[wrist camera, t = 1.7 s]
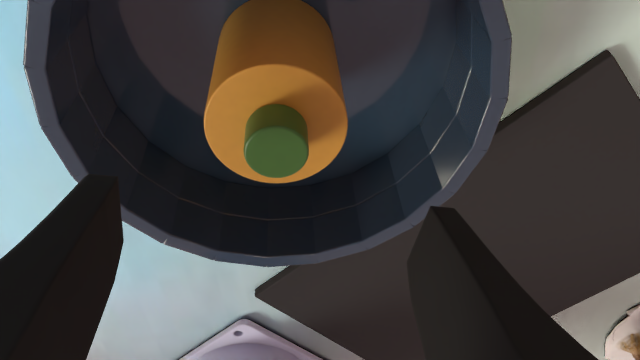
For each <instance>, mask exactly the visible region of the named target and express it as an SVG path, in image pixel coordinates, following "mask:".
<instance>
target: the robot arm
mask: <svg viewBox="0 0 640 360" xmlns="http://www.w3.org/2000/svg"><path fill="white" fill-rule="evenodd" d="M122 246H123V229H122V217H121V206H120V194H119V182H118V176H107V175H97V174H88V175H87V176H85V177H84V178H83V179H82V180H81V181H80V182H79V183H78V184H77V185H76V186H75V188H74V189H73V190H72V191H71V192H70V193H69V194H68V195H67V196H66V197H65V198H64V199H63V200H62V201H61V202H60V203H59V204H58V205H57V207H56V208H55V209H54V210H53V211H52V212H51V213H50V214H49V215H48V216H47V217H46V218H45V219H44V220H43V221H42V222H40V223H39V224H38V225H37V226H36V227H35V228H34V229H33V230H32V231H31V232H30V233H29V234H28V235H27V236H26V237H25V238H24V239H23V240H22V241H21V242H20V243H18V244H17V245H16V246H15V247H14V248H13V249H12V250H11V251H9V252H8V253H7V254H6V255H5V256H4V257H2V258H1V259H0V360H86V358H87V355H88V353H89V350H90V347H91V344H92V342H93V339H94V336H95V333H96V331H97V328H98V325H99V323H100V320H101V317H102V314H103V312H104V309H105V306H106V303H107V301H108V298H109V295H110V292H111V289H112V287H113V284H114V281H115V276H116V272H117V268H118V264H119V259H120V255H121V250H122ZM407 272H408V281H409V289H410V297H411V303H412V307H413V311H414V315H415V319H416V323H417V327H418V331H419V335H420V339H421V343H422V347H423V350H424V354H425V358H426V360H598V359H597V358H596V357H594V356H593V355H592V354H591V353H590V352H589V351H587V350H586V349H585V348H584V347H583V346H582V345H580V344H579V343H578V342H577V341H576V340H575V339H574V338H573V337H572V336H571V335H569V334H568V333H567V332H566V331H565V330H564V329H563V328H562V327H561V326H560V325H558V324H557V323H556V322H555V321H554V320H553V319H552V318H551V317H550V316H549V315H548V314H547V313H546V312H545V311H544V310H543V309H542V308H541V307H540V306H539V305H538V304H537V303H536V302H535V301H534V300H533V298H532V297H531V296H530V295H529V294H528V293H527V292H526V291H525V290H524V289H523V288H522V287H521V286H520V285H519V284H518V282H517V281H516V280H515V279H514V278H513V277H512V276H511V275H510V273H509V272H508V271H507V270H506V269H505V268H504V267H503V265H502V264H501V263H500V262H499V261H498V260H497V258H496V257H495V256H494V255H493V254H492V253H491V251H490V250H489V249H488V248H487V247H486V245H485V244H484V243H483V242H482V240H481V239H480V238H479V237H478V236H477V234H476V233H475V232H474V231H473V230H472V228H471V227H470V226H469V225H468V223H467V222H466V221H465V220H464V219H463V217H462V216H461V215H460V214H459V213H458V212H457V211H456V209H455V208H449V207H438V206H430V208H429V210H428V213H427V215H426V217H425V220H424V222H423V224H422V227H421V229H420V232H419V234H418V236H417V239H416V241H415V243H414V246H413V248H412V251H411V253H410V255H409V258H408V260H407ZM179 360H323V359H321V358H319V357H317V356H315V355H313V354H312V353H310V352H308V351H306V350H304V349H302V348H300V347H299V346H297V345H295V344H293V343H291V342H289V341H287V340H286V339H284V338H282V337H280V336H278V335H276V334H274V333H273V332H271V331H269V330H267V329H265V328H263V327H261V326H259V325H258V324H256V323H254V322H252V321H250V320H248V319H241V320H239V321H237V322H235V323H234V324H232V325H231V326H229V327H228V328H226V329H225V330H223V331H222V332H220V333H219V334H217V335H216V336H214V337H213V338H211V339H210V340H208V341H207V342H205V343H203V344H202V345H200V346H199V347H197V348H196V349H194V350H193V351H191V352H190V353H188V354H187V355H185V356H184V357H182V358H181V359H179Z"/></svg>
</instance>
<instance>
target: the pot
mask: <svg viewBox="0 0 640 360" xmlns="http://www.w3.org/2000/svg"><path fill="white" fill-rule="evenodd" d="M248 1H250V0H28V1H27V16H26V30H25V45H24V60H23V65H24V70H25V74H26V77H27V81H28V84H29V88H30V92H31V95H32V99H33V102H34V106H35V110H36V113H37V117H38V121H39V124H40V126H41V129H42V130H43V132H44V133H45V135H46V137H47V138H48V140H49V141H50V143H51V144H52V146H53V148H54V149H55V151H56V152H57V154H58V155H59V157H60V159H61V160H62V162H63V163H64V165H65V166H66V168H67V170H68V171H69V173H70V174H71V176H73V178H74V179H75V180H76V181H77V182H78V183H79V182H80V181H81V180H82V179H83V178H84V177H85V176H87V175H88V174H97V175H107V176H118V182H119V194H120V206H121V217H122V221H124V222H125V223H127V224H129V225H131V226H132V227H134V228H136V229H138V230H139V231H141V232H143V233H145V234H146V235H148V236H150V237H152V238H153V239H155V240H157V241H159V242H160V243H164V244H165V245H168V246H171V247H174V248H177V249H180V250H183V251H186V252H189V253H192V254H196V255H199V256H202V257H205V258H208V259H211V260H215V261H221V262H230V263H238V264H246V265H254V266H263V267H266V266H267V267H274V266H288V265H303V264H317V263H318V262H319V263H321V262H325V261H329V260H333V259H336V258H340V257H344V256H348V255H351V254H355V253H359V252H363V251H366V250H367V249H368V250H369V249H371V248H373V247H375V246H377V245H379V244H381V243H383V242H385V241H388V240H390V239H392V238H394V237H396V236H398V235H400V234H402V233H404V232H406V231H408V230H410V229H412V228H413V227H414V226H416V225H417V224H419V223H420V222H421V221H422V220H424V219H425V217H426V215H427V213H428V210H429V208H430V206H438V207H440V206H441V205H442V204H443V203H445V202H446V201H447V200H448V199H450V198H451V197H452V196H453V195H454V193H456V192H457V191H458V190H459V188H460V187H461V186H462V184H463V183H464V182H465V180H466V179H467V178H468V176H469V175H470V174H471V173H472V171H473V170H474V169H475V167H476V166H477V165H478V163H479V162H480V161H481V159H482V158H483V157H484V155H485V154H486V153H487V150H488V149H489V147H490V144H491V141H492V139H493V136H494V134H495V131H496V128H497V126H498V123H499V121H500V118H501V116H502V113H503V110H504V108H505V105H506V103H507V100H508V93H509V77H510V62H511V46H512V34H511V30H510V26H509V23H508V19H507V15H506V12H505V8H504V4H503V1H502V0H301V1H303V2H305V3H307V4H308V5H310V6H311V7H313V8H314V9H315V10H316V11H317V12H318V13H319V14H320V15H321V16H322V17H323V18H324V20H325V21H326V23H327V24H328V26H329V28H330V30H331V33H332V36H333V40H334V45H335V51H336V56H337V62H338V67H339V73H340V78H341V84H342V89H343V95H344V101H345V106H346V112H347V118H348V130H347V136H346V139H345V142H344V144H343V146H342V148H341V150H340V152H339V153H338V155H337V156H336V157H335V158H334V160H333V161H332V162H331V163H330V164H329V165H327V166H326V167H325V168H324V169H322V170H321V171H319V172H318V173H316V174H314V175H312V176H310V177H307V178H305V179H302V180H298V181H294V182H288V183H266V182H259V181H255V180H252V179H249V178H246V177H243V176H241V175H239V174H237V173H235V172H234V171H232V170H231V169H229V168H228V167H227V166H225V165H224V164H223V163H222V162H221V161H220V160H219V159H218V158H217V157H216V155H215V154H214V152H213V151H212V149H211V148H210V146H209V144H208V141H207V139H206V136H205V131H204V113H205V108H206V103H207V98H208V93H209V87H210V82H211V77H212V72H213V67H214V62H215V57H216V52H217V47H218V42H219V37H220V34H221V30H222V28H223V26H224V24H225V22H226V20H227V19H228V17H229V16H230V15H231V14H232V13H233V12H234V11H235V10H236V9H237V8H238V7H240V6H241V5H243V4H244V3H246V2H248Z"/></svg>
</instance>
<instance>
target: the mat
mask: <svg viewBox="0 0 640 360" xmlns="http://www.w3.org/2000/svg"><path fill="white" fill-rule="evenodd" d="M440 207H449V208H455V209H456V211H457V212H458V213H459V214H460V215H461V216H462V217H463V219H464V220H465V221H466V222H467V223H468V225H469V226H470V227H471V228H472V230H473V231H474V232H475V233H476V234H477V236H478V237H479V238H480V239H481V240H482V242H483V243H484V244H485V245H486V247H487V248H488V249H489V250H490V251H491V253H492V254H493V255H494V256H495V257H496V258H497V260H498V261H499V262H500V263H501V264H502V265H503V267H504V268H505V269H506V270H507V271H508V272H509V273H510V275H511V276H512V277H513V278H514V279H515V280H516V281H517V282H518V284H519V285H520V286H521V287H522V288H523V289H524V290H525V291H526V292H527V293H528V294H529V295H530V296H531V297H532V298H533V300H534V301H535V302H536V303H537V304H538V305H539V306H540V307H541V308H542V309H543V310H544V311H545V312H546V313H547V314H548V315H549V316H552V315H554V314H557V313H559V312H561V311H563V310H565V309H567V308H569V307H571V306H573V305H575V304H577V303H579V302H581V301H583V300H585V299H587V298H589V297H591V296H593V295H595V294H597V293H599V292H602V291H604V290H606V289H608V288H610V287H612V286H614V285H616V284H618V283H620V282H622V281H624V280H626V279H628V278H630V277H632V276H634V275H636V274H638V273H640V99H639V98H638V96H637V94H636V93H635V91H634V89H633V88H632V86H631V84H630V83H629V81H628V80H627V78H626V76H625V75H624V73H623V71H622V70H621V68H620V66H619V65H618V63H617V62H616V60H615V58H614V57H613V55H612V54H611V53H610V52H609V51H607V50H606V51H604V52H603V53H601V54H600V55H598V56H597V57H595V58H594V59H592V60H591V61H589V62H588V63H587V64H585V65H584V66H582V67H581V68H579V69H578V70H576V71H575V72H573V73H572V74H570V75H569V76H567V77H566V78H565V79H563V80H562V81H560V82H559V83H557V84H556V85H554V86H553V87H551V88H550V89H548V90H547V91H546V92H544V93H543V94H541V95H540V96H538V97H537V98H535V99H534V100H532V101H531V102H529V103H528V104H526V105H525V106H524V107H522V108H521V109H519V110H518V111H516V112H515V113H513V114H512V115H510V116H509V117H507V118H506V119H504V120H503V121H502V122H500V123H499V124H498V126H497V128H496V131H495V134H494V136H493V139H492V141H491V144H490V147H489V149H488V150H487V153H486V154H485V155H484V157H483V158H482V159H481V161H480V162H479V163H478V165H477V166H476V167H475V169H474V170H473V171H472V173H471V174H470V175H469V176H468V178H467V179H466V180H465V182H464V183H463V184H462V186H461V187H460V188H459V190H458V191H457V192H456V193H454V195H453V196H452V197H451V198H450V199H448V200H447V201H446V202H445V203H443V204H442V205H441V206H440ZM424 220H425V219H424ZM424 220H422V221H421V222H420V223H419V224H417V225H416V226H414V227H413V228H412V229H410V230H408V231H406V232H404V233H402V234H400V235H398V236H396V237H394V238H392V239H390V240H388V241H385V242H383V243H381V244H379V245H377V246H375V247H373V248H371V249H369V250H368V249H367V250H366V251H363V252H359V253H355V254H351V255H348V256H344V257H340V258H336V259H333V260H329V261H325V262H321V263H319V262H318V263H317V264H303V265H290V266H289V267H288V268H286V269H285V270H283V271H282V272H280V273H279V274H277V275H276V276H274V277H273V278H271V279H270V280H268V281H267V282H266V283H264V284H263V285H261V286H260V287H258V288H257V289H256V290H255V297H257V298H259V299H260V300H262V301H264V302H266V303H267V304H269V305H271V306H273V307H274V308H276V309H278V310H280V311H281V312H283V313H285V314H287V315H288V316H290V317H292V318H293V319H295V320H297V321H299V322H300V323H302V324H304V325H306V326H307V327H309V328H311V329H313V330H314V331H316V332H318V333H320V334H321V335H323V336H325V337H327V338H328V339H330V340H332V341H334V342H335V343H337V344H339V345H341V346H342V347H344V348H346V349H348V350H349V351H351V352H353V353H355V354H356V355H358V356H360V357H362V358H363V359H365V360H426V358H425V354H424V350H423V347H422V343H421V339H420V335H419V331H418V327H417V323H416V319H415V315H414V311H413V307H412V303H411V297H410V289H409V281H408V272H407V260H408V258H409V255H410V253H411V251H412V248H413V246H414V243H415V241H416V239H417V236H418V234H419V232H420V229H421V227H422V224H423V222H424Z"/></svg>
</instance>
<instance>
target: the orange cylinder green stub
mask: <svg viewBox="0 0 640 360" xmlns="http://www.w3.org/2000/svg"><path fill="white" fill-rule="evenodd" d="M347 130H348V118H347V112H346V106H345V101H344V95H343V89H342V84H341V78H340V73H339V67H338V62H337V56H336V51H335V45H334V40H333V36H332V33H331V30H330V28H329V26H328V24H327V23H326V21H325V20H324V18H323V17H322V16H321V15H320V14H319V13H318V12H317V11H316V10H315V9H314V8H313V7H311V6H310V5H308V4H307V3H305V2H303V1H301V0H250V1H248V2H246V3H244V4H243V5H241V6H240V7H238V8H237V9H236V10H235V11H234V12H233V13H232V14H231V15H230V16H229V17H228V19H227V20H226V22H225V24H224V26H223V28H222V30H221V34H220V37H219V42H218V47H217V52H216V57H215V62H214V67H213V72H212V77H211V82H210V87H209V93H208V98H207V103H206V108H205V113H204V131H205V136H206V139H207V141H208V144H209V146H210V148H211V149H212V151H213V152H214V154H215V155H216V157H217V158H218V159H219V160H220V161H221V162H222V163H223V164H224V165H225V166H227V167H228V168H229V169H231V170H232V171H234V172H235V173H237V174H239V175H241V176H243V177H246V178H249V179H252V180H255V181H259V182H266V183H288V182H294V181H298V180H302V179H305V178H307V177H310V176H312V175H314V174H316V173H318V172H319V171H321V170H322V169H324V168H325V167H326V166H327V165H329V164H330V163H331V162H332V161H333V160H334V158H335V157H336V156H337V155H338V153H339V152H340V150H341V148H342V146H343V144H344V142H345V139H346V136H347Z"/></svg>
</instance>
